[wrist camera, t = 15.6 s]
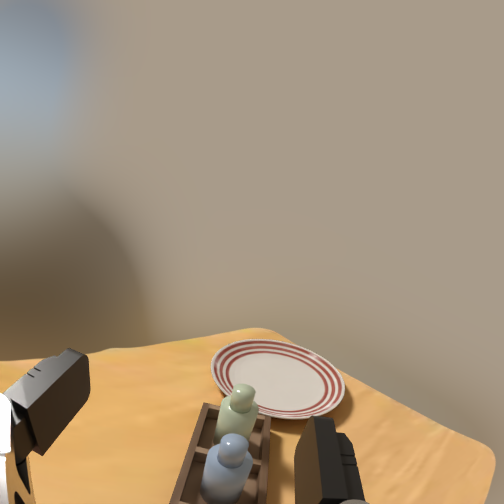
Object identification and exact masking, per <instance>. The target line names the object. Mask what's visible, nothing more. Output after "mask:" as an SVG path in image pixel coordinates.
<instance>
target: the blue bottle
mask: <svg viewBox="0 0 504 504" xmlns="http://www.w3.org/2000/svg"><path fill="white" fill-rule="evenodd" d="M248 447H249V443H248V441H247V439H246V438H245V437H243V436H241V435H239V434H233V433H231V434H226V435H225V436H223V437H222V439H221V442H220V444H217V445H215V446H213V447H212V448H211V449H210V450H209V451H208V454H207V458H206V463H205V468H204V472H203V477H202V482H201V486H200V495H201V497H202V499H203V500H204V501H205V502H206V503H208V504H236V503H237V502H238V500H239V498H240V496H241V493H242V491H243V488H244V486H245V483H246V481H247V478H248V476H249V473H250V471H251V468H252V465H253V459H252V456H251V454H250V453H249V452H248V451H247V450H248Z"/></svg>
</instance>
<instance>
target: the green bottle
mask: <svg viewBox="0 0 504 504" xmlns="http://www.w3.org/2000/svg"><path fill="white" fill-rule="evenodd" d="M255 393H256V391H255V389H254V388H253V387H252V386H250V385H247V384H236V385H235V386H234V387H233V391H232V395H230V396H227V397H225V398H224V399H223V400H222V402H221V407H220V411H219V416H218V420H217V425H216V429H215V434H214V438H213V443H214V446H215V445H217V444H220V442H221V439H222V437H223V436H225V435H226V434H231V433H233V434H239V435H241V436H243V437H245V438H246V439H247V441H248V443H249V440H250V437H251V434H252V431H253V427H254V424H255V421H256V418H257V415H258V412H259V407H258V405H257V404H256V402H255V401H253V400H254V397H255Z"/></svg>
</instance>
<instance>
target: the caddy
mask: <svg viewBox="0 0 504 504" xmlns="http://www.w3.org/2000/svg"><path fill="white" fill-rule="evenodd" d="M220 407H221V406H216V405H212V404H208V403H203V406H202V409H201V412H200V415H199V418H198V421H197V424H196V427H195V430H194V432H193V435H192V438H191V441H190V444H189V447H188V450H187V453H186V456H185V459H184V462H183V465H182V468H181V471H180V474H179V476H178V479H177V482H176V485H175V488H174V491H173V494H172V497H171V500H170V503H169V504H208V503H206V502H205V501H204V500H203V499H202V497H201V495H200V486H201V482H202V477H203V472H204V468H205V463H206V458H207V454H208V451H209V450H210V449H211V448H212V447H213V446H214V443H213V438H214V434H215V429H216V425H217V420H218V416H219V411H220ZM270 426H271V417H269V416H264V415H257V418H256V421H255V424H254V427H253V431H252V434H251V437H250V440H249V447H248V450H247V451H248V452H249V453H250V454H251V456H252V459H253V465H252V468H251V471H250V473H249V476H248V478H247V481H246V483H245V486H244V488H243V491H242V493H241V496H240V498H239V500H238V502H237V503H236V504H266V496H267V480H268V463H269V445H270Z"/></svg>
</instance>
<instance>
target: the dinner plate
mask: <svg viewBox="0 0 504 504" xmlns="http://www.w3.org/2000/svg"><path fill="white" fill-rule="evenodd" d="M211 373H212V376H213V379H214V381H215V382H216V384H217V386H218V387H219V388H220V390H221V391H222V392H223V393H224V394H225V395H226V396H230V395H232V391H233V387H234V386H235V385H236V384H247V385H250V386H252V387H253V388H254V389H255V391H256V393H255V397H254V400H253V401H255V402H256V404H257V405H258V407H259V412H258V413H259V414H262V415H266V416H270V417H275V418H281V419H307V418H310V416H312V415H313V416H320V415H323V414H326V413H328V412H330V411H331V410H333V409H334V408H335V407H337V406H338V405H339V403H340V402H341V400H342V399H343V397H344V393H345V384H344V380H343V378H342V376H341V374H340V373H339V371H338V370H337V369H336V368H335V367H334V366H333V365H332V364H331V363H330V362H328V361H327V360H326V359H324V358H323V357H321V356H320V355H318V354H316V353H314V352H312V351H310V350H308V349H305V348H303V347H300V346H297V345H294V344H291V343H287V342H282V341H277V340H268V339H248V340H241V341H237V342H233V343H231V344H228V345H226V346H224V347H223V348H221V349H220V350H219V351H218V352H217V353H216V354H215V355H214V357H213V359H212V362H211Z"/></svg>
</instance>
